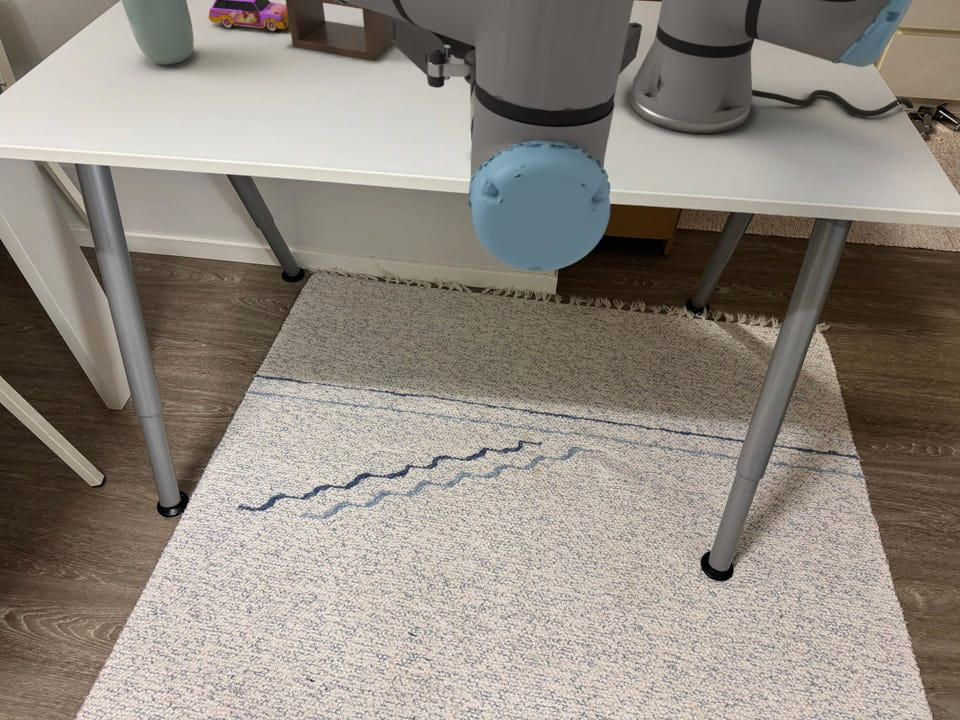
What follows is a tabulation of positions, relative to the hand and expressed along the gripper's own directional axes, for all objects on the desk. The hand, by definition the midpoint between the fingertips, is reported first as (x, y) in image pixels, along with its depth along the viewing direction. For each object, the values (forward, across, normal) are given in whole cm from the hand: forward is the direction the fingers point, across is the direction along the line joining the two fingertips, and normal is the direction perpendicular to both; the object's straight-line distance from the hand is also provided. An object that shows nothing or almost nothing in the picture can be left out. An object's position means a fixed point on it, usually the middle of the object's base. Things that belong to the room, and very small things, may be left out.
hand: (512, 3), depth 65 cm
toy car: (+47, -36, -19) cm, 62 cm away
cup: (+34, -44, -20) cm, 60 cm away
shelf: (+41, -21, -19) cm, 49 cm away
